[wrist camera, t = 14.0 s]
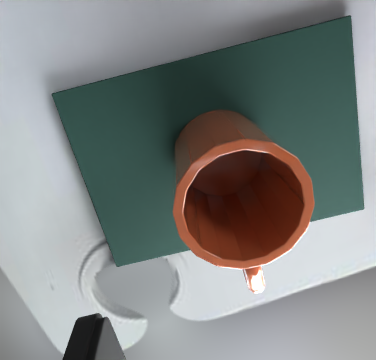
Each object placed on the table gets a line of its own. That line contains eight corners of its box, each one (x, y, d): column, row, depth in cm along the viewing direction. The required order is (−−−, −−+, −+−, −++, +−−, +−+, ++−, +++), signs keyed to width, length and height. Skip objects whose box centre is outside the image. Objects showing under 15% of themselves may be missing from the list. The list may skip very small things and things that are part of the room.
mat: (117, 263, 28) (116, 267, 27) (53, 92, 23) (50, 93, 22) (361, 206, 27) (364, 209, 26) (347, 16, 22) (351, 15, 21)
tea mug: (163, 122, 23) (156, 160, 15) (257, 99, 23) (305, 123, 15) (195, 240, 27) (205, 326, 18) (277, 221, 26) (326, 299, 18)
